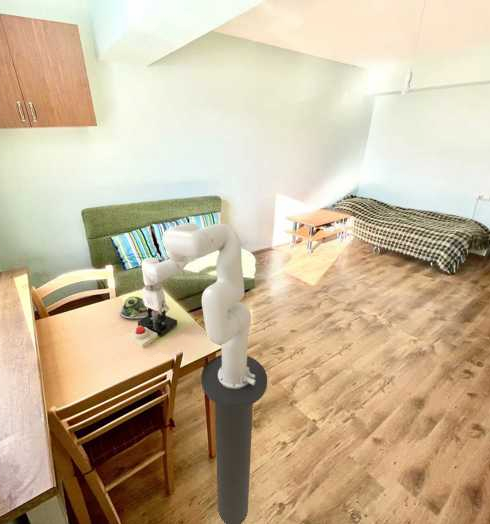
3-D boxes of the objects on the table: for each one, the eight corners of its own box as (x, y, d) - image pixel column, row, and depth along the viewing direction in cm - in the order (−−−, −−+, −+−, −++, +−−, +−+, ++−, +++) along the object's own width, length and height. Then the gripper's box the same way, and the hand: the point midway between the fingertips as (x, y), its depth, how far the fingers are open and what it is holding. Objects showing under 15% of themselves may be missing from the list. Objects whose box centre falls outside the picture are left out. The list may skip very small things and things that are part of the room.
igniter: (158, 337, 124) (157, 330, 122) (142, 348, 117) (141, 341, 115) (140, 329, 129) (139, 322, 128) (125, 340, 122) (124, 332, 121)
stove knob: (163, 320, 132) (162, 310, 130) (157, 324, 128) (156, 315, 126) (157, 317, 134) (156, 307, 132) (150, 321, 131) (149, 312, 129)
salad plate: (164, 300, 152) (163, 292, 149) (155, 321, 136) (154, 313, 134) (129, 299, 153) (128, 292, 150) (116, 320, 137) (115, 312, 135)
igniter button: (146, 331, 122) (146, 327, 122) (140, 335, 120) (140, 332, 119) (141, 328, 124) (140, 325, 123) (134, 332, 121) (134, 329, 121)
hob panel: (177, 324, 133) (177, 319, 132) (161, 336, 124) (160, 332, 123) (154, 315, 140) (154, 310, 139) (138, 326, 132) (137, 321, 131)
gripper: (133, 283, 125) (138, 316, 132) (161, 293, 117) (165, 328, 123) (145, 277, 131) (149, 309, 138) (173, 286, 122) (176, 320, 129)
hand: (156, 318), depth 131 cm, fingers open, 7 cm apart
